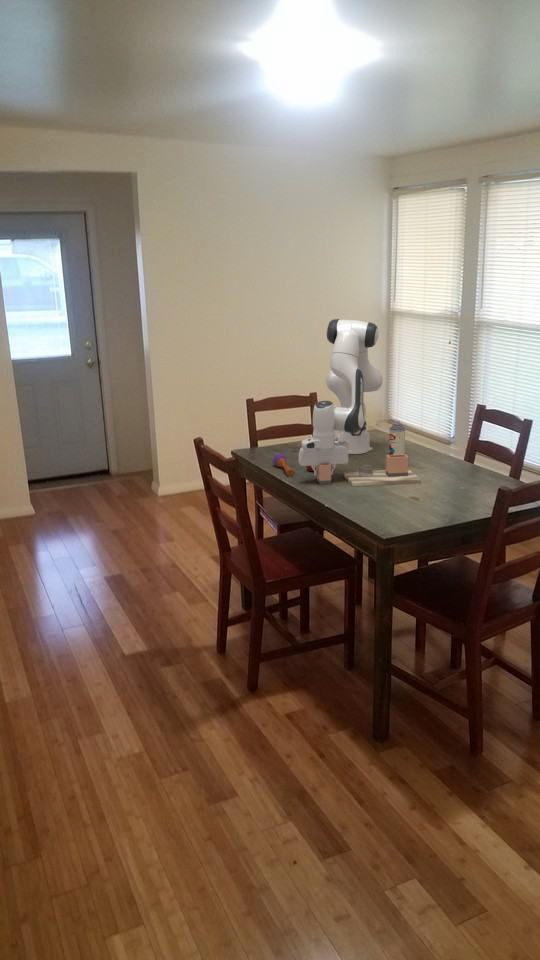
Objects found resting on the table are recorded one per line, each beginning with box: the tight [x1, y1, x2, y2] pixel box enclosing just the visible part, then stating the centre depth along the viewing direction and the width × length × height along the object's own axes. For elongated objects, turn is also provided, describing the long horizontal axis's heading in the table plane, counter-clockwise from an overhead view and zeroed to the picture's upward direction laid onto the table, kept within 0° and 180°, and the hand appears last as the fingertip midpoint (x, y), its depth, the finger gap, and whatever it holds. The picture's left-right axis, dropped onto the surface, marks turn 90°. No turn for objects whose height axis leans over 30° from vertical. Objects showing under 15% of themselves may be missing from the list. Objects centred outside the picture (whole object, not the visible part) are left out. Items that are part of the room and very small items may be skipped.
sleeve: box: [315, 463, 332, 485], centre depth 300 cm, size 8×5×8 cm, turn 7°
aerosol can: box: [388, 420, 406, 455], centre depth 320 cm, size 7×7×20 cm
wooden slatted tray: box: [343, 464, 422, 487], centre depth 303 cm, size 16×28×6 cm, turn 97°
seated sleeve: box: [385, 453, 410, 477], centre depth 303 cm, size 8×5×8 cm, turn 97°
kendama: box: [272, 453, 295, 477], centre depth 318 cm, size 6×6×20 cm
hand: (323, 475), depth 301 cm, fingers closed on sleeve, 5 cm apart
